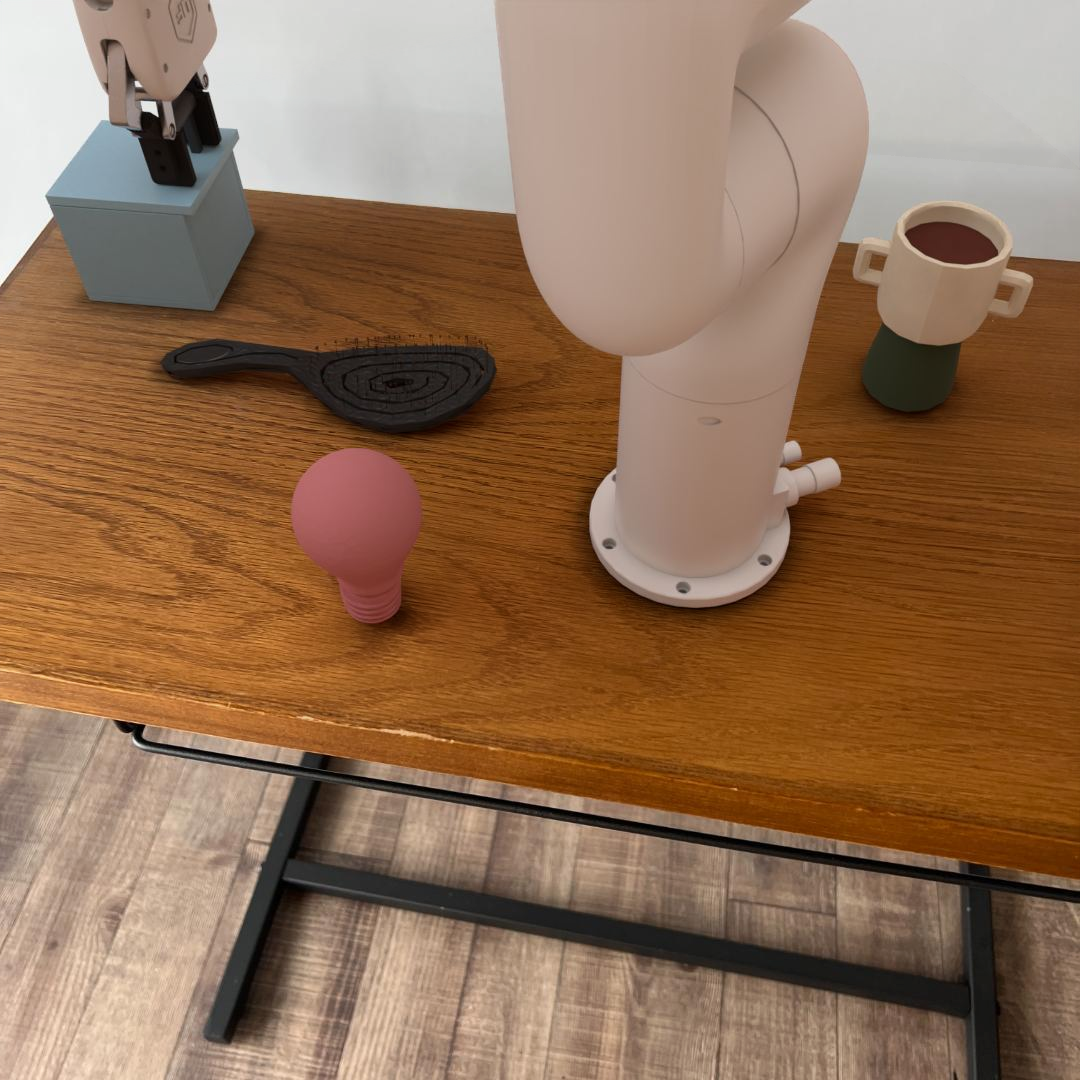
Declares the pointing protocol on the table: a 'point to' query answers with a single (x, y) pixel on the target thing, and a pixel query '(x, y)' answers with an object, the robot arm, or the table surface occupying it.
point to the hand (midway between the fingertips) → (188, 160)
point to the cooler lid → (139, 169)
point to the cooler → (161, 248)
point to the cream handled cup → (934, 297)
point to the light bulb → (359, 526)
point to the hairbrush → (359, 377)
